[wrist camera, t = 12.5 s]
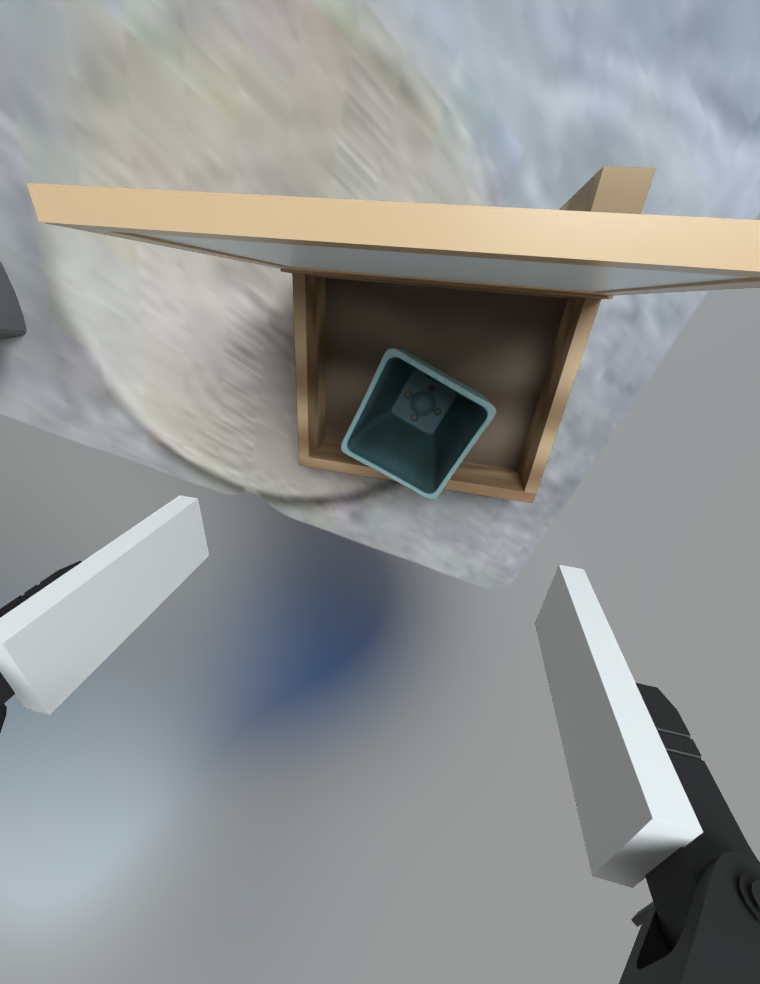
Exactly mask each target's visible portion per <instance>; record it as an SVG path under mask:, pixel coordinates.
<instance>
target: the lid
mask: <svg viewBox="0 0 760 984" xmlns="http://www.w3.org/2000/svg"><path fill="white" fill-rule="evenodd" d="M27 186H28V189H29V192H30V195H31V199H32V202H33V205H34V208H35V211H36V215H37V218H38V221H39V222H42V223H47V224H52V225H57V226H63V227H68V228H73V229H78V230H83V231H89V232H94V233H99V234H104V235H109V236H114V237H120V238H125V239H130V240H135V241H140V242H146V243H151V244H156V245H161V246H166V247H172V248H177V249H182V250H187V251H192V252H198V253H203V254H208V255H213V256H218V257H224V258H229V259H234V260H239V261H244V262H250V263H255V264H260V265H265V266H270V267H276V268H281V269H292V270H305V271H317V272H329V273H341V274H354V275H366V276H378V277H390V278H403V279H415V280H427V281H439V282H452V283H464V284H476V285H489V286H501V287H513V288H525V289H538V290H550V291H562V292H574V293H587V294H599V295H611V296H612V295H631V294H649V293H668V292H687V291H706V290H723V289H743V288H760V220H744V219H724V218H704V217H685V216H665V215H645V214H626V213H606V212H587V211H567V210H547V209H528V208H508V207H488V206H469V205H449V204H430V203H410V202H390V201H371V200H351V199H331V198H312V197H292V196H272V195H253V194H233V193H214V192H194V191H174V190H155V189H135V188H115V187H96V186H76V185H57V184H37V183H27Z"/></svg>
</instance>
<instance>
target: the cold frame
mask: <svg viewBox="0 0 760 984" xmlns="http://www.w3.org/2000/svg"><path fill="white" fill-rule="evenodd" d="M655 171H656V168H645V167H616V166H604V167H602V168H601V169H600V170H599V171H598V172H597V173H596V174H595V175H594V176H593V177H592V178H591V179H590V180H589V181H588V182H587V183H586V184H585V185H584V186H583V187H582V188H581V189H580V190H579V191H578V192H577V193H576V194H575V195H574V196H573V197H572V198H571V199H570V200H569V201H568V202H566V203H565V204H564V205H563V206H562V207H561V208H560V209H559V210H567V211H587V212H606V213H626V214H641V211H642V208H643V205H644V202H645V200H646V197H647V194H648V191H649V188H650V185H651V182H652V179H653V176H654V174H655ZM281 271H282V272H288V273H292V275H293V303H294V332H295V360H296V389H297V417H298V446H299V465H300V466H307V467H313V468H319V469H325V470H331V471H337V472H343V473H349V474H356V475H362V476H368V477H374V478H380V479H386V480H392V481H395V480H393V479H391V478H389V477H388V476H386V475H384V474H382V473H381V472H379V471H377V470H375V469H373V468H371V467H369V466H368V465H365V464H363V463H362V462H360V461H358V460H356V459H354V458H352V457H350V456H349V455H347V454H345V453H344V452H342V450H341V444H342V441H343V439H344V437H345V435H346V433H347V431H348V429H349V427H350V425H351V423H352V421H353V419H354V417H355V415H356V413H357V411H358V409H359V407H360V405H361V403H362V401H363V399H364V396H365V394H366V392H367V390H368V388H369V386H370V384H371V382H372V380H373V377H374V375H375V373H376V371H377V369H378V366H379V364H380V362H381V360H382V358H383V356H384V354H385V352H386V351H387V350H388V349H390V348H397V349H404V350H407V351H409V352H410V353H412V354H414V355H415V356H417V357H419V358H420V359H422V360H424V361H425V362H427V363H429V364H430V365H432V366H434V367H436V368H437V369H439V370H441V371H442V372H444V373H446V374H448V375H449V376H451V377H453V378H454V379H456V380H458V381H460V382H461V383H463V384H465V385H467V386H468V387H470V388H472V389H474V390H475V391H477V392H479V393H480V394H482V395H483V396H484V397H485V398H486V399H487V400H488V401H489V402H490V403H491V404H492V405H493V406H494V407H495V408H496V414H495V416H494V418H493V419H492V421H491V422H490V423H489V425H488V426H487V427H486V429H485V430H484V432H483V433H482V434H481V435H480V437H479V438H478V440H477V441H476V442H475V444H474V445H473V447H472V448H471V449H470V451H469V452H468V454H467V455H466V456H465V458H464V459H463V461H462V462H461V464H460V465H459V466H458V468H457V469H456V471H455V472H454V473H453V475H452V476H451V478H450V480H449V481H448V482H447V484H446V485H445V487H444V488H443V489H448V490H454V491H460V492H466V493H472V494H478V495H484V496H490V497H497V498H503V499H509V500H515V501H521V502H527V503H533V502H534V499H535V496H536V493H537V490H538V487H539V484H540V481H541V478H542V475H543V472H544V469H545V466H546V463H547V460H548V457H549V454H550V451H551V448H552V445H553V442H554V439H555V436H556V433H557V430H558V427H559V424H560V421H561V418H562V415H563V412H564V409H565V406H566V403H567V400H568V397H569V394H570V391H571V388H572V385H573V382H574V379H575V376H576V373H577V371H578V368H579V365H580V362H581V359H582V356H583V353H584V350H585V347H586V344H587V341H588V338H589V335H590V332H591V329H592V326H593V323H594V320H595V317H596V314H597V311H598V308H599V305H600V302H601V299H612V298H613V295H612V296H611V295H599V294H587V293H574V292H562V291H550V290H538V289H525V288H513V287H501V286H489V285H476V284H464V283H452V282H439V281H427V280H415V279H403V278H390V277H378V276H366V275H354V274H341V273H329V272H317V271H305V270H292V269H281ZM429 390H430V391H433V390H434V386H432V385H431V386H429ZM405 395H406V397H410V396H411V393H410V392H406V394H405ZM435 413H436V414H439V413H440V410H439V409H436V410H435ZM412 419H413V420H416V419H417V415H413V416H412Z"/></svg>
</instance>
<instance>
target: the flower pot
mask: <svg viewBox="0 0 760 984" xmlns="http://www.w3.org/2000/svg"><path fill="white" fill-rule="evenodd" d="M431 385H432V386H434V390H433V391H430V390H429V386H431ZM406 392H410V393H411V396H410V397H406V395H405V394H406ZM436 409H439V410H440V413H439V414H436V413H435V410H436ZM495 414H496V408H495V407H494V406H493V405H492V404H491V403H490V402H489V401H488V400H487V399H486V398H485V397H484V396H483V395H482V394H480V393H479V392H477V391H475V390H474V389H472V388H470V387H468V386H467V385H465V384H463V383H461V382H460V381H458V380H456V379H454V378H453V377H451V376H449V375H448V374H446V373H444V372H442V371H441V370H439V369H437V368H436V367H434V366H432V365H430V364H429V363H427V362H425V361H424V360H422V359H420V358H419V357H417V356H415V355H414V354H412V353H410V352H409V351H407V350H404V349H397V348H390V349H388V350H387V351H386V352H385V354H384V356H383V358H382V360H381V362H380V364H379V366H378V369H377V371H376V373H375V375H374V377H373V380H372V382H371V384H370V386H369V388H368V390H367V392H366V394H365V396H364V399H363V401H362V403H361V405H360V407H359V409H358V411H357V413H356V415H355V417H354V419H353V421H352V423H351V425H350V427H349V429H348V431H347V433H346V435H345V437H344V439H343V441H342V444H341V450H342V452H344V453H345V454H347V455H349V456H350V457H352V458H354V459H356V460H358V461H360V462H362V463H363V464H365V465H368V466H369V467H371V468H373V469H375V470H377V471H379V472H381V473H382V474H384V475H386V476H388V477H389V478H391V479H393V480H395V481H397V482H399V483H400V484H402V485H404V486H406V487H407V488H409V489H411V490H413V491H415V492H416V493H418V494H420V495H421V496H423V497H425V498H427V499H431V500H434V499H436V498H437V497H438V496H439V494H440V493H441V492H442V490H443V488H444V487H445V485H446V484H447V482H448V481H449V480H450V478H451V476H452V475H453V473H454V472H455V471H456V469H457V468H458V466H459V465H460V464H461V462H462V461H463V459H464V458H465V456H466V455H467V454H468V452H469V451H470V449H471V448H472V447H473V445H474V444H475V442H476V441H477V440H478V438H479V437H480V435H481V434H482V433H483V432H484V430H485V429H486V427H487V426H488V425H489V423H490V422H491V421H492V419H493V418H494V416H495ZM413 415H417V419H416V420H413V419H412V416H413Z"/></svg>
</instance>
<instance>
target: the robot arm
mask: <svg viewBox="0 0 760 984" xmlns="http://www.w3.org/2000/svg"><path fill="white" fill-rule="evenodd" d="M208 556H209V553H208V547H207V542H206V538H205V532H204V527H203V522H202V518H201V512H200V507H199V502H198V499H197V498H192V497H186V496H181V495H179V496H178V497H177V498H175V499H174V500H172V501H171V502H170V503H168V504H166V505H165V506H164V507H162V508H160V509H159V510H158V511H156V512H155V513H153V514H152V515H150V516H149V517H147V518H146V519H144V520H143V521H141V522H140V523H139V524H137V525H136V526H134V527H133V528H131V529H130V530H129V531H127V532H125V533H124V534H122V535H121V536H119V537H118V538H116V539H115V540H114V541H112V542H111V543H109V544H108V545H106V546H105V547H104V548H102V549H100V550H99V551H97V552H96V553H95V554H93V555H92V556H90V557H89V558H87V559H86V560H84V561H79V562H77V563H74V564H72V565H69V566H67V567H65V568H63V569H61V570H58V571H57V572H55V573H54V574H53V575H51V576H49V577H48V578H46V579H45V580H43V581H42V582H40V584H39V585H36V586H34V587H33V588H31V589H30V590H28V591H26V592H25V594H24V595H23V596H19V597H17V598H16V599H14V600H13V601H11V602H10V603H8V604H7V605H6V606H4V607H2V608H1V609H0V732H1V729H2V726H3V723H4V720H5V717H6V709H7V707H6V706H5V704H4V703H5V702H6V701H7V700H8V699H10V698H11V697H12V696H13V695H14V694H15V695H16V696H17V698H18V699H19V701H20V702H21V703H22V705H23V706H24V708H27V709H30V710H34V711H37V712H41V713H44V714H47V715H50V714H51V713H52V712H53V711H54V710H55V709H56V708H57V707H58V706H59V705H60V704H61V703H62V702H63V701H64V700H65V699H66V698H67V697H68V696H69V695H70V694H71V693H72V692H73V691H74V690H75V689H76V688H77V687H78V686H79V685H80V684H81V683H82V682H83V681H84V680H85V679H86V678H87V677H88V676H89V675H90V674H91V673H92V672H93V671H94V670H95V669H96V668H97V667H98V666H99V665H100V664H101V663H102V662H103V661H104V660H105V659H106V658H107V657H108V656H109V655H110V654H111V653H112V652H113V651H114V650H115V649H116V648H117V647H118V646H119V645H120V644H121V643H122V642H123V641H124V640H125V639H126V638H127V637H128V636H129V635H130V634H131V633H132V632H133V631H134V630H135V629H136V628H137V627H138V626H139V625H140V624H141V623H142V622H143V621H144V620H145V619H146V618H147V617H148V616H149V615H150V614H151V613H152V612H153V611H154V610H155V609H156V608H157V607H158V606H159V605H160V604H161V603H162V602H163V601H164V600H165V599H166V598H167V597H168V596H169V595H170V594H171V593H172V592H173V591H174V590H175V589H176V588H177V587H178V586H179V585H180V584H181V583H182V582H183V581H184V580H185V579H186V578H187V577H188V576H189V575H190V574H191V573H192V572H193V571H194V570H195V569H196V568H197V567H198V566H199V565H200V564H201V563H202V562H203V561H204V560H205V559H206V558H207V557H208ZM535 626H536V630H537V634H538V639H539V643H540V648H541V652H542V656H543V661H544V665H545V670H546V674H547V679H548V683H549V687H550V692H551V696H552V701H553V705H554V709H555V714H556V718H557V722H558V726H559V731H560V736H561V740H562V745H563V749H564V753H565V757H566V762H567V767H568V771H569V775H570V780H571V784H572V788H573V793H574V797H575V802H576V806H577V811H578V815H579V819H580V824H581V828H582V833H583V837H584V841H585V846H586V850H587V854H588V859H589V863H590V868H591V872H592V876H594V877H598V878H601V879H604V880H608V881H611V882H615V883H618V884H621V885H625V886H628V887H631V888H633V887H634V886H635V885H636V884H638V883H639V882H641V881H642V880H643V879H644V878H646V880H647V883H648V886H649V889H650V892H651V896H652V899H653V902H652V903H650V904H649V905H648V906H646V907H645V908H643V909H642V910H641V911H639V912H638V913H637V914H636V915H635V916H634V917H633V919H632V921H633V922H634V924H636V926H639V925H641V924H642V925H641V928H640V930H639V933H638V936H637V938H636V941H635V943H634V946H633V948H632V951H631V954H630V956H629V959H628V961H627V964H626V967H625V969H624V972H623V975H622V977H621V980H620V983H619V984H760V862H759V861H758V860H757V858H756V856H755V855H754V853H753V852H752V850H751V848H750V847H749V845H748V843H747V841H746V839H745V838H744V836H743V834H742V832H741V830H740V828H739V826H738V824H737V822H736V821H735V819H734V817H733V815H732V813H731V811H730V809H729V808H728V805H727V803H726V802H725V800H724V798H723V796H722V794H721V792H720V790H719V788H718V786H717V785H716V783H715V781H714V779H713V777H712V775H711V773H710V771H709V769H708V767H707V766H706V764H705V762H704V761H702V760H701V754H700V752H699V750H698V749H697V747H696V745H695V743H694V741H693V740H692V739H690V733H689V731H688V730H687V728H686V726H685V724H684V722H683V721H682V718H681V716H680V715H679V713H678V711H677V709H676V708H675V707H674V706H673V705H672V704H671V703H670V701H669V700H668V699H667V698H666V697H665V696H664V695H663V694H662V692H661V691H660V690H659V689H658V688H656V687H652V686H647V685H642V684H638V683H635V681H634V679H633V677H632V675H631V673H630V670H629V668H628V666H627V664H626V661H625V659H624V657H623V655H622V653H621V650H620V648H619V646H618V644H617V642H616V639H615V637H614V635H613V633H612V631H611V628H610V626H609V624H608V622H607V620H606V617H605V615H604V613H603V611H602V609H601V606H600V604H599V602H598V600H597V598H596V595H595V593H594V591H593V589H592V587H591V584H590V582H589V580H588V578H587V576H586V574H585V571H584V570H583V569H579V568H573V567H568V566H562V565H559V566H558V569H557V571H556V574H555V576H554V578H553V581H552V583H551V586H550V588H549V591H548V593H547V595H546V598H545V600H544V602H543V605H542V607H541V610H540V612H539V614H538V617H537V619H536V622H535Z"/></svg>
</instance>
